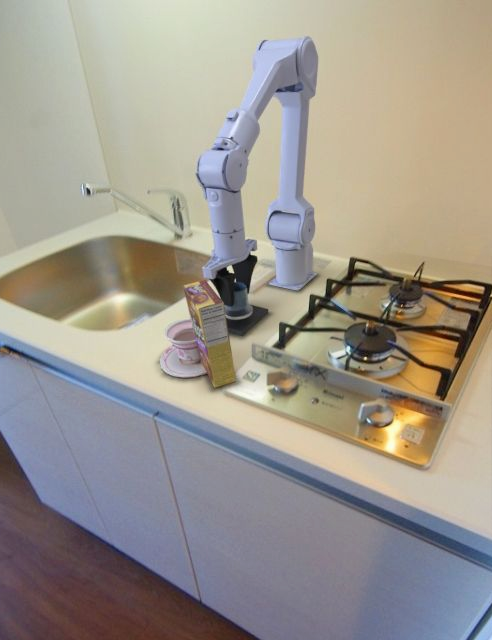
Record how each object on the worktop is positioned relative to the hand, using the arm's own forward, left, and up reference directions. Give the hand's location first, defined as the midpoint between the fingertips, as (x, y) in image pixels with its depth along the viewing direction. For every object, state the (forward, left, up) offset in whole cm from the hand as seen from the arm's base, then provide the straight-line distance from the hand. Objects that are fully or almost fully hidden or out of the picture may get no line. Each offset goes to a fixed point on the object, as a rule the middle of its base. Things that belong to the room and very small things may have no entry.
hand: (236, 298), depth 83 cm
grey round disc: (0, 0, -3) cm, 3 cm away
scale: (-2, -2, -6) cm, 6 cm away
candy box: (+15, +5, -6) cm, 17 cm away
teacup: (+14, -1, -6) cm, 15 cm away
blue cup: (0, 0, -2) cm, 2 cm away
